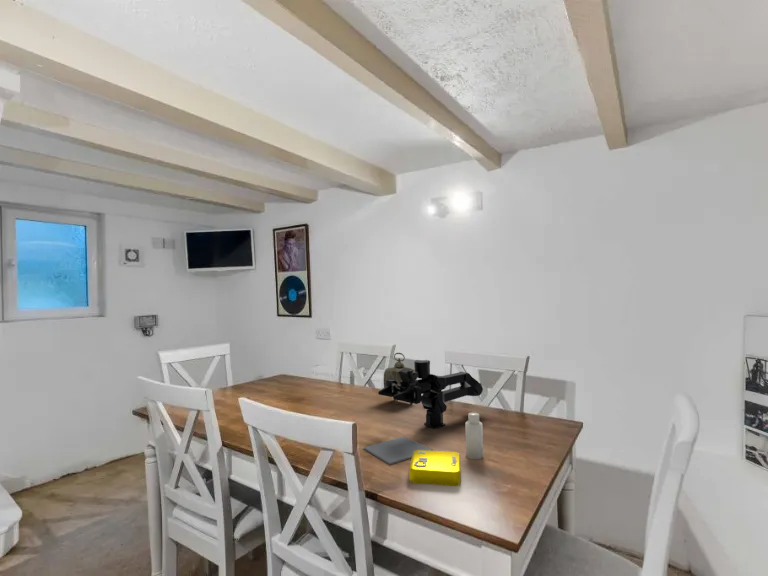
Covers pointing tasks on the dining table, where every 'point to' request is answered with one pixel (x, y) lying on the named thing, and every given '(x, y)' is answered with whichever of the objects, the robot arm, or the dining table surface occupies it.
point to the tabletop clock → (395, 372)
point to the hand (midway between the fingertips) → (385, 395)
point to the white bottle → (474, 437)
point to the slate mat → (395, 449)
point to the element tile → (435, 468)
